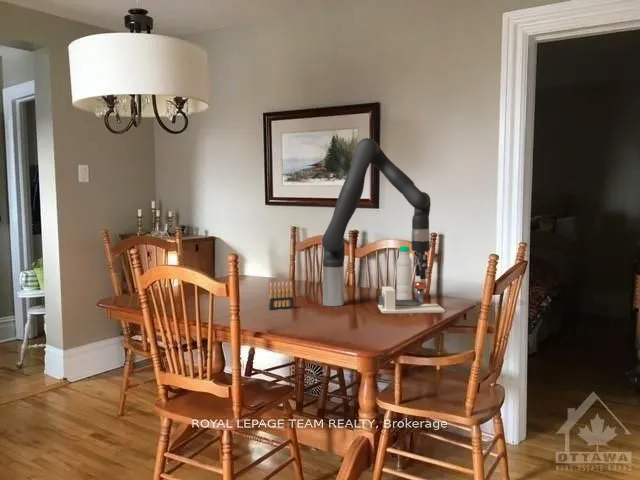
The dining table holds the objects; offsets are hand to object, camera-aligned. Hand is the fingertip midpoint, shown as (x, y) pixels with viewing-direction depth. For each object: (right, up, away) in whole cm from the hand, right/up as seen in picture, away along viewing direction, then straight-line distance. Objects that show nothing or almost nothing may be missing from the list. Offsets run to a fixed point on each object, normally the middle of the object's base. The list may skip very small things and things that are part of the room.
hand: (420, 277), depth 242 cm
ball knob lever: (-7, -12, +1) cm, 14 cm away
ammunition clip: (-59, -14, +4) cm, 61 cm away
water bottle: (-4, -12, +21) cm, 25 cm away
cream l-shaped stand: (-4, -14, +1) cm, 14 cm away
